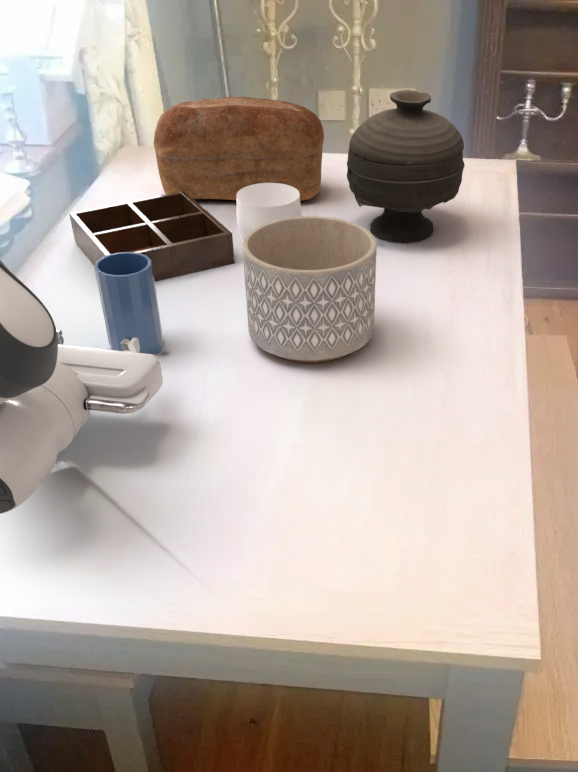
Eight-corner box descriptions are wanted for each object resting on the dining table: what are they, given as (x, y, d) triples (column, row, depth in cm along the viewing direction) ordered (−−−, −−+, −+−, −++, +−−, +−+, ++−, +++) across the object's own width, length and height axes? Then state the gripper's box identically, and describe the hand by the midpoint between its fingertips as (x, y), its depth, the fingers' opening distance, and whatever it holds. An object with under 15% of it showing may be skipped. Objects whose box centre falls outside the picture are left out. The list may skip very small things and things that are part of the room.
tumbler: (120, 364, 114) (105, 280, 106) (103, 340, 118) (87, 259, 110) (171, 351, 116) (159, 268, 108) (152, 328, 120) (139, 247, 113)
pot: (468, 207, 148) (477, 74, 133) (450, 262, 137) (457, 124, 122) (363, 199, 152) (359, 69, 137) (337, 252, 141) (330, 117, 125)
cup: (276, 299, 126) (271, 212, 118) (228, 281, 130) (221, 197, 122) (315, 276, 132) (314, 192, 123) (268, 260, 135) (264, 177, 127)
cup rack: (114, 290, 128) (108, 259, 125) (75, 242, 140) (68, 212, 137) (234, 262, 135) (232, 233, 132) (187, 218, 146) (184, 190, 143)
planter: (399, 340, 118) (404, 245, 109) (303, 384, 110) (300, 285, 101) (318, 296, 127) (317, 205, 118) (224, 334, 119) (215, 239, 110)
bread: (323, 208, 150) (322, 114, 140) (156, 205, 150) (143, 112, 140) (326, 181, 158) (325, 91, 148) (168, 179, 159) (156, 89, 149)
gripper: (133, 386, 91) (176, 322, 101) (-52, 366, 94) (7, 305, 104) (143, 438, 96) (183, 372, 105) (-34, 417, 99) (21, 354, 108)
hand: (95, 338), depth 105 cm, fingers open, 8 cm apart
